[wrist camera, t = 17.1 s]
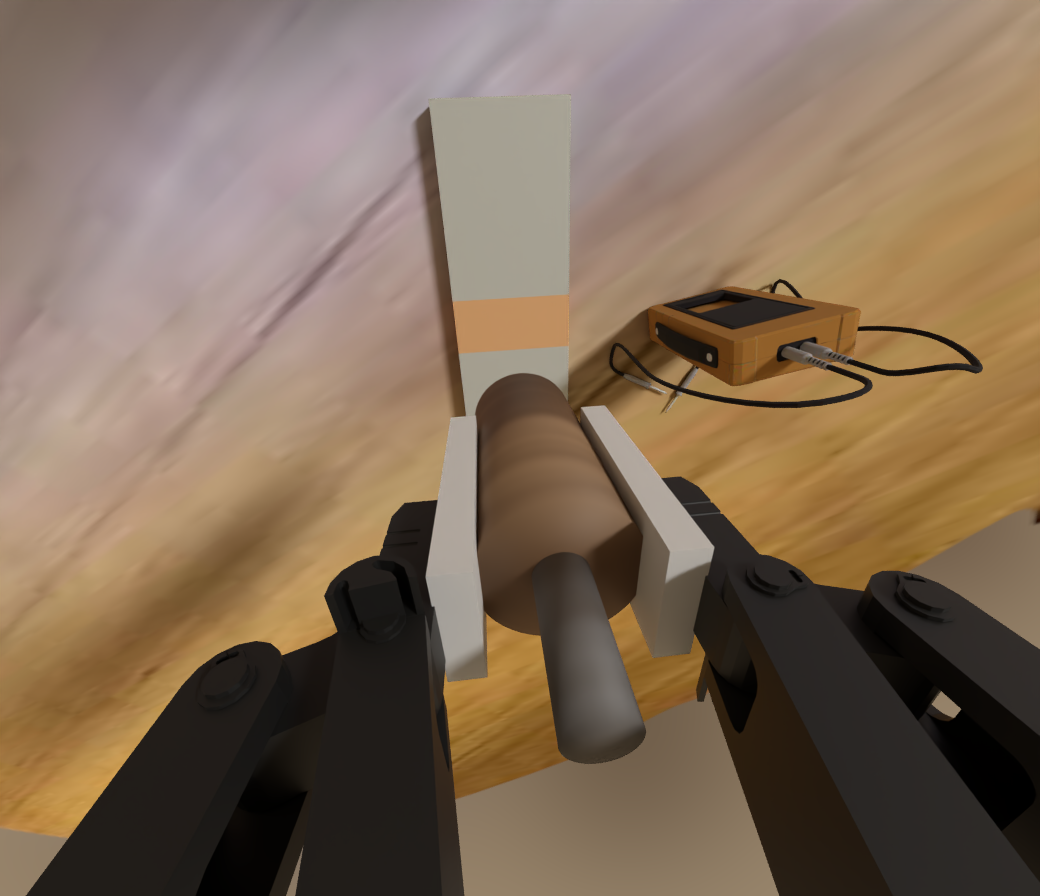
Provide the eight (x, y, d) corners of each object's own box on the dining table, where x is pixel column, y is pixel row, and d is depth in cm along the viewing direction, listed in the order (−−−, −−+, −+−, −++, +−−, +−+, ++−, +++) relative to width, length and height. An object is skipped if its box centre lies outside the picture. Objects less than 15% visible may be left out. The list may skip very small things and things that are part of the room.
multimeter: (615, 423, 38) (735, 582, 20) (602, 317, 33) (741, 403, 16) (768, 385, 38) (1025, 512, 20) (775, 272, 33) (1120, 308, 15)
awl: (469, 377, 14) (448, 672, 4) (569, 368, 14) (760, 633, 5) (479, 465, 16) (482, 820, 6) (569, 456, 16) (710, 786, 6)
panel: (430, 104, 26) (428, 98, 25) (567, 100, 26) (570, 94, 25) (469, 435, 37) (469, 441, 36) (565, 428, 38) (567, 433, 37)
